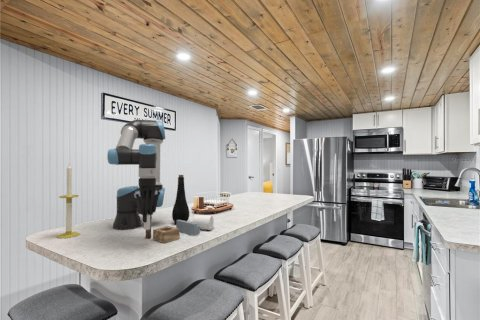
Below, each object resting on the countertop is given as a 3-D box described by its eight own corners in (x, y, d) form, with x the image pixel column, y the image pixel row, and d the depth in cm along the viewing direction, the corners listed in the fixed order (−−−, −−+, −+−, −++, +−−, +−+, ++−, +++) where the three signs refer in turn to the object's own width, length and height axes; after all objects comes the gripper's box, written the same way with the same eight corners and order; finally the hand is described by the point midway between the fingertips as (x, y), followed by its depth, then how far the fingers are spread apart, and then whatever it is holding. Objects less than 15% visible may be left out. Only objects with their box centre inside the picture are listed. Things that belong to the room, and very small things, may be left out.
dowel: (144, 238, 128) (144, 218, 128) (149, 236, 130) (149, 217, 130) (147, 239, 126) (147, 218, 126) (152, 237, 128) (152, 217, 128)
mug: (209, 231, 140) (209, 217, 140) (192, 230, 142) (192, 216, 142) (215, 226, 151) (215, 213, 151) (199, 225, 153) (199, 212, 153)
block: (152, 239, 125) (153, 229, 125) (167, 235, 132) (167, 225, 132) (164, 243, 120) (164, 232, 120) (179, 238, 127) (179, 228, 127)
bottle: (192, 222, 160) (193, 174, 160) (180, 226, 151) (180, 175, 151) (180, 220, 165) (181, 174, 165) (168, 223, 157) (168, 175, 157)
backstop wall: (176, 231, 140) (176, 220, 140) (183, 229, 144) (183, 218, 144) (194, 235, 132) (194, 224, 132) (201, 233, 136) (201, 222, 136)
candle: (73, 238, 126) (73, 163, 126) (52, 238, 126) (52, 162, 126) (84, 232, 136) (84, 162, 136) (64, 232, 136) (65, 162, 136)
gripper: (139, 178, 109) (138, 233, 109) (164, 177, 120) (163, 227, 120) (129, 177, 114) (129, 230, 113) (154, 176, 124) (154, 225, 124)
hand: (146, 228), depth 117 cm, fingers closed
